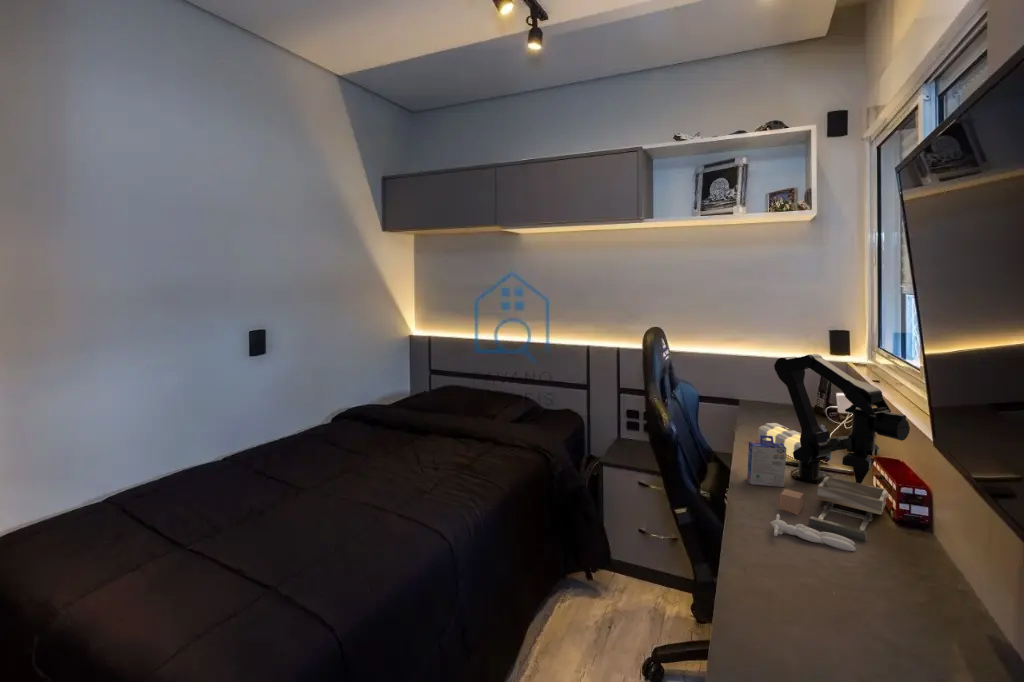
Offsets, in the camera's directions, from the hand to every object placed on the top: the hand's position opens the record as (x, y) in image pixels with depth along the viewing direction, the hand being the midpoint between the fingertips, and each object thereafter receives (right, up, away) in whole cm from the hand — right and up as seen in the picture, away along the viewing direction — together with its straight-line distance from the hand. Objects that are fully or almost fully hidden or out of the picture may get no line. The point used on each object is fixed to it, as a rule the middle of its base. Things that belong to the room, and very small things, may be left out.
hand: (858, 483), depth 151 cm
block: (-24, -5, -8) cm, 25 cm away
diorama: (+1, 0, +39) cm, 39 cm away
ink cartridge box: (-22, -3, +10) cm, 24 cm away
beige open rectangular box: (-7, -5, -7) cm, 11 cm away
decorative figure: (-28, -7, -24) cm, 37 cm away
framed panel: (-10, -5, -11) cm, 16 cm away
